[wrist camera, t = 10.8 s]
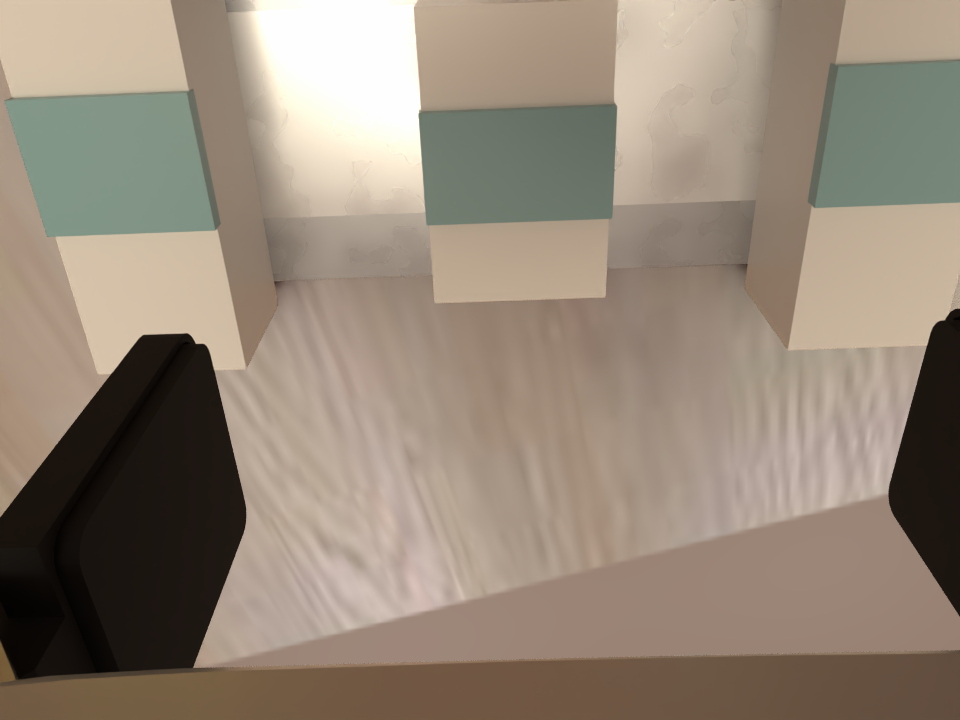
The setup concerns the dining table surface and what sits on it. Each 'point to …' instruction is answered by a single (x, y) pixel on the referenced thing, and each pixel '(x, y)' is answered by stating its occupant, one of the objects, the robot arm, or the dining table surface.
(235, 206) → the block
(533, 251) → the block
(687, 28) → the rail
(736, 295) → the dining table surface
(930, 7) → the mounted module
